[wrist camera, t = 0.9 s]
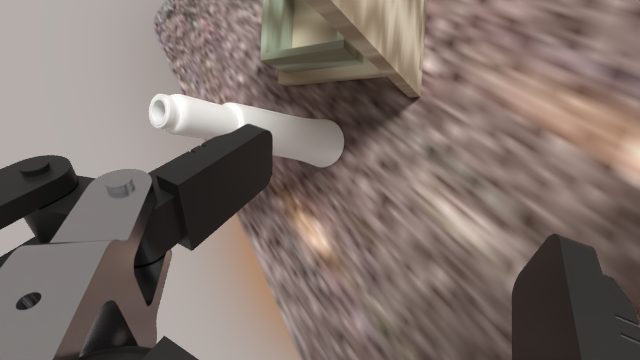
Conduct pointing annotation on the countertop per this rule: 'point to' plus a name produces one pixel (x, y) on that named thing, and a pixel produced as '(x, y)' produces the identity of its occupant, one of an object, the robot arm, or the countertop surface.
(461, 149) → the countertop surface
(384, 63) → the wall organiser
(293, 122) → the cosmetic bottle
